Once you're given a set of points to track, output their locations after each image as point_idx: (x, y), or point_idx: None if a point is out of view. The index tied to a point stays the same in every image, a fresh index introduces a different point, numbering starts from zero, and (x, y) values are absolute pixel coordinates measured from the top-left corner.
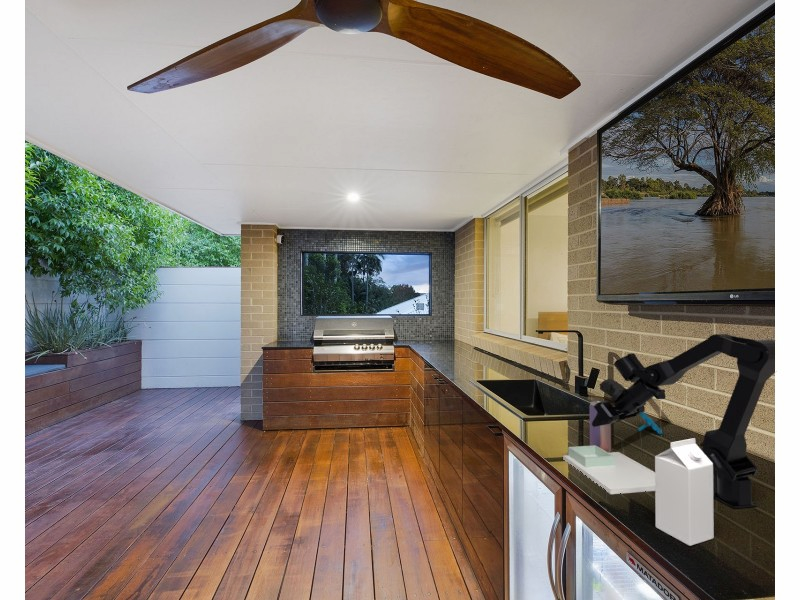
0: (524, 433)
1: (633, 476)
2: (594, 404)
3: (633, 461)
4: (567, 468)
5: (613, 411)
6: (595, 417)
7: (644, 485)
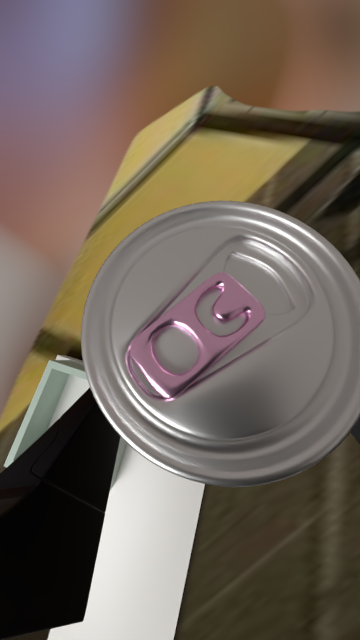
0: (127, 192)
1: None
2: (111, 311)
3: (195, 495)
4: (28, 403)
5: None
6: (62, 417)
7: None
